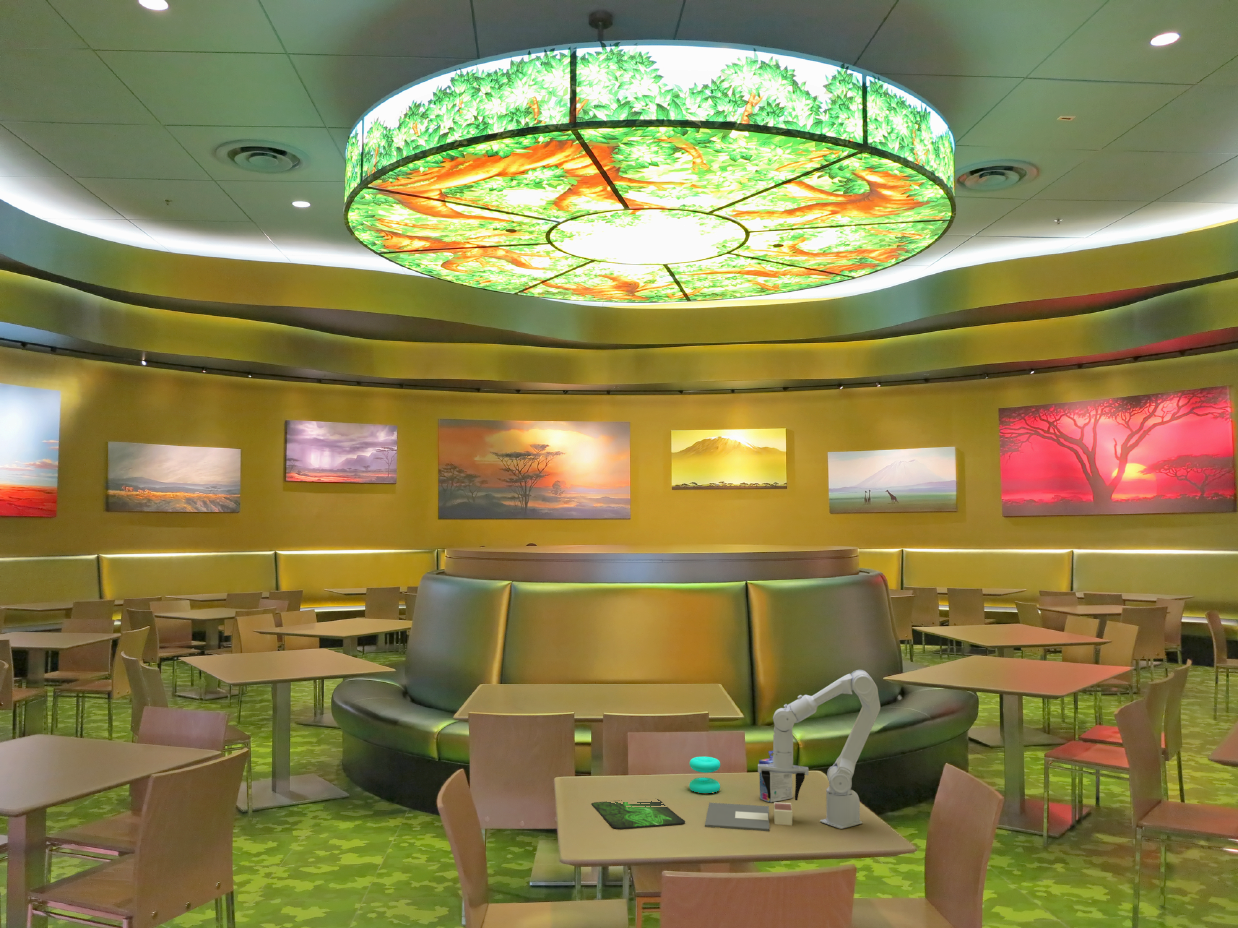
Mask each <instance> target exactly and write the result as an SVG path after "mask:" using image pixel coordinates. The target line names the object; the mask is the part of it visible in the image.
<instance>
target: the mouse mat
mask: <svg viewBox="0 0 1238 928" xmlns="http://www.w3.org/2000/svg"><path fill="white" fill-rule="evenodd" d="M656 799H657V800H658V801H660V802H652V801H651V802H637V803H640V804H628V802H623V804H621V803H618V802H615V803H616V804H615V803H611V802H607V801H595V802H592V803H591V804H590V805H591V807H593V809H595V811H596V812H597V813H598V814H599V815H600V816H601V818H603V819H604V821H606V823H608V824H609V825H610V827H611V828H613V829H615V830H629V829H640V828H641V829H642V828H655V827H666V826H676V825H677V826H678V825H680V826H681V825H683V824H685V822H686V820H685V819H684V818H682V817H681V816H679V815H678V814H677V813H675V812H674V811H673V810H672V809H670V808H669V807H668V806H667V807H651V806H661V805H664V806H666V805H665V804H664V803H663V801H661V800H660V799H659V798H656ZM641 803H650V804H641ZM661 803H663V804H661ZM626 806H631V807H626ZM632 806H645V807H632ZM646 806H650V807H646Z"/></svg>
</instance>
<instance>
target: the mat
mask: <svg viewBox="0 0 1238 928" xmlns="http://www.w3.org/2000/svg"><path fill="white" fill-rule="evenodd" d="M769 807H770V806H768V805H754V804H737V803H721V802H709V803H708V807H707V813H706V818H705V822H704V827H705V828H715V827H720V829H730V830H731V829H732V830H733V829H735V830H748V831H749V830H750V831H763V832H769V831H770V808H769Z"/></svg>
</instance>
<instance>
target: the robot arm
mask: <svg viewBox="0 0 1238 928" xmlns="http://www.w3.org/2000/svg"><path fill="white" fill-rule="evenodd" d="M852 691H853V692H854V693H855V694H856V696H857V697H858V699H859V701H860V703H861V708H860V711H859V713H858V715H857V717H856V719H855V721H854V723H853V726H852V728H851V731H850V733H849V735H848V737H847V739H846V741H845V744H844V746H843V748H842V750H841V753H840V754H839V756H838V757H837V758H836V760H835V762H834V763H833V765H832V766H830V767H829V768H828V769H827V773H826V778H827V780H828V784H829V785H828V787H827V788H826V800H825V801H826V818H822V819H820V820H819V822H820V823H821V824H825V825H828V826H831V827H834V828H837V829H841V830H842V829H846V828H850V827H854V826H857V825H861V824H863V821H861V820H860V819H861V818H860V817H861V816H860V815H861V813H860V812H861V811H860V810H861V808H860V807H861V805H860V804H861V803H860V797H859V795H858V793H857V792H856V791H854V790H853V789H852V784H853V782H852V778H853V776H854V774H855V768H856V764H857V762H858V761H859V758H860V756H861V753H862V751H863V749H864V748H865V744H866V742H867V740H868V738H869V735H870V733H871V731H872V729H873V726H874V725H875V722H876V719H877V717H878V715H879V713H880V711H881V702H880V697H879V690H878V685H877V684H876V683H875V681H874V680H873V678H872V677H871V676H870V674H869V673H868V672H867V671H865V670H864V669H857V670H854V671H852V672H851V673H848V674H845V675H843V676H842V677H840V678H838V679H837V680H835V681H834V682H831V683H830V684H829V685H827V686H825V687H824V688H822V689H821V690H819V691H818V692H816V693H814V694H813V695H808V694H804V695H802V694H799V695H798V696H797V699H795V700H794V701H792V702H790V703H788V704H787V703H785V704H784V705H783V707H780V708H778V709H776V710H775V711H774V714H773V716H772V720H773V724H774V726H773V734H772V736H773V740H772V743H773V745H772V746H773V747H772V751H773V753H772V756H773V764H759V763H758V764H757V773H759V772H762V778H763V780H764V782H765V785H766V788H767V792H768V799H771V792H770V772H772V773H788V774H792V775H795V789H794V800H795V801H798V798H799V793H800V790H801V787H802V785H803V783H804V781H805V777H806V776H809V766H803V765H802V766H801V765H795V764H794V735H793V727H794V725H795V724H796V723H797V724H798V723H800V722H802V721H803V720H806V719H807V718H809V717H810V716H812V715H814V714H815V713H816V712H818V711H817V710H818V707H819V706H820V705H822V704H824V703H825V702H828V701H830V700H831V699H833V698H835V697H838V696H839V695H841V694H845V695H853V692H852Z"/></svg>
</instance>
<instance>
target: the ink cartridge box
mask: <svg viewBox="0 0 1238 928" xmlns="http://www.w3.org/2000/svg"><path fill="white" fill-rule="evenodd" d="M767 753H768V756H769V757H768V758H764V759H759V760H758V764H773V750H769V751H768V752H767ZM758 773H759V799H760V800H762V801H765V802H768V803H774V802H780V801H783V800H784V801H785V800H789V799H793V774H788V773H772V772H770V792H771V799H768V792H767V788H766V785H765V782H764V780H763V778H762V772H758Z"/></svg>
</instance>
